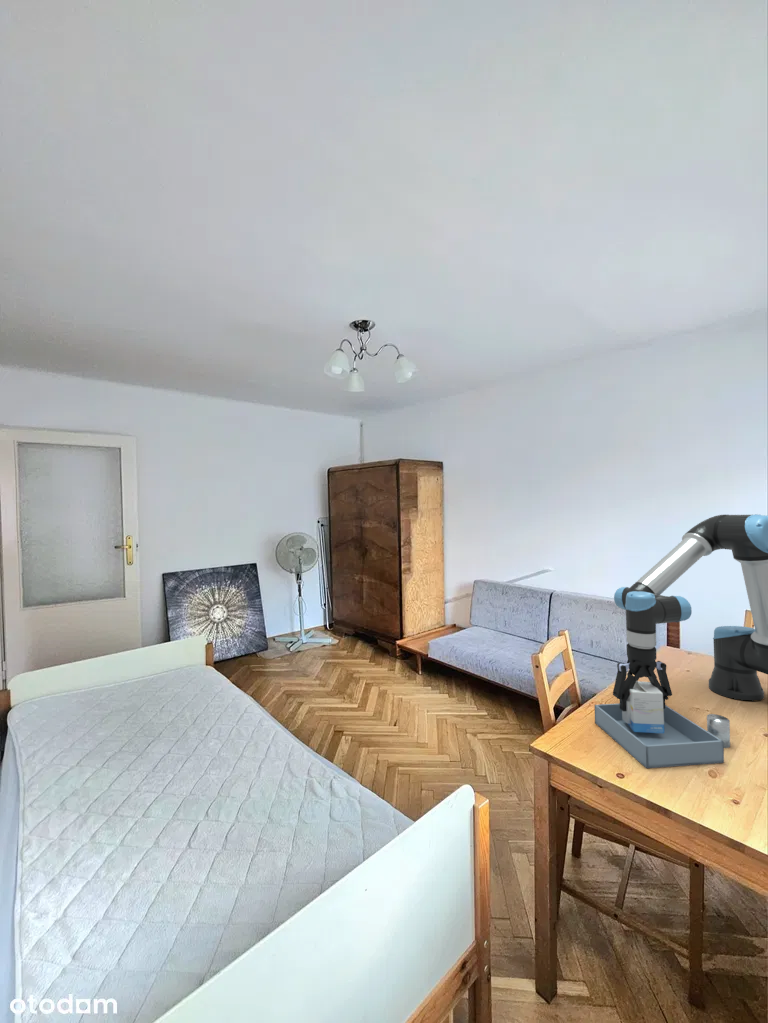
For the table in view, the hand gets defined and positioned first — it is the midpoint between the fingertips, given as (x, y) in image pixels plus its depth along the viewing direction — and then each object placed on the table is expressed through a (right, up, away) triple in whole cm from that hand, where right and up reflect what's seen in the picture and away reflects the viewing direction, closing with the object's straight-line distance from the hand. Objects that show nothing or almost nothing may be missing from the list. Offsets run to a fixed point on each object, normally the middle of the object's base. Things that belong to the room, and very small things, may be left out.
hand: (642, 720), depth 125 cm
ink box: (0, -2, 0) cm, 2 cm away
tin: (+17, -3, -6) cm, 19 cm away
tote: (0, -4, -5) cm, 6 cm away
